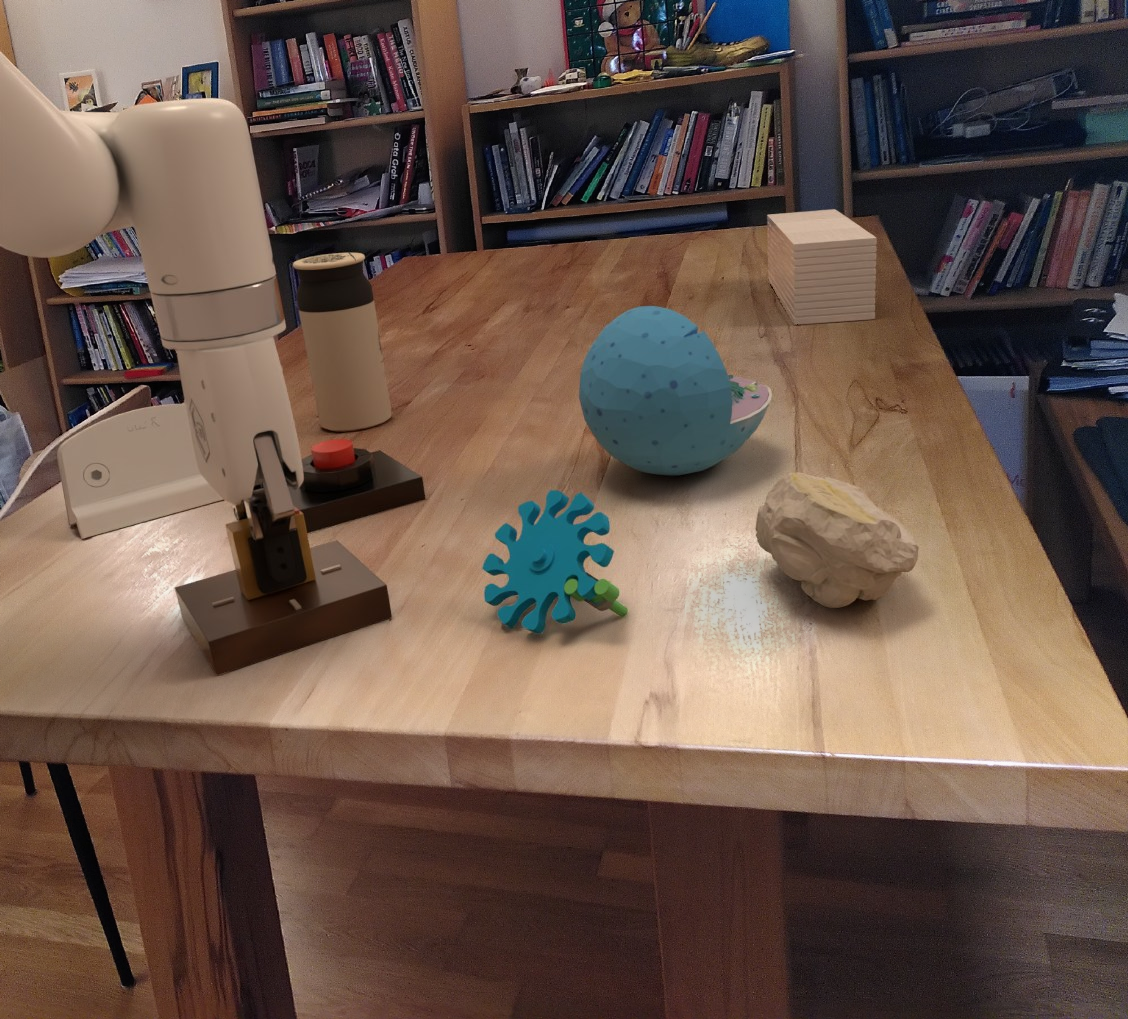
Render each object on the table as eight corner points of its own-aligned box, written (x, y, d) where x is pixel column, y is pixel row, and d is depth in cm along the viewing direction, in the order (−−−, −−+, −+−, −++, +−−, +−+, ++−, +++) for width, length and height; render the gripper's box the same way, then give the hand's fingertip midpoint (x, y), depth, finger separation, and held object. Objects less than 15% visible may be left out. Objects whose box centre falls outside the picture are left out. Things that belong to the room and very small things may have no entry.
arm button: (322, 474, 89) (318, 455, 89) (309, 464, 92) (305, 445, 92) (361, 464, 91) (358, 445, 90) (347, 454, 94) (344, 435, 93)
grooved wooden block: (874, 319, 140) (876, 237, 136) (794, 325, 141) (793, 243, 137) (834, 277, 169) (835, 208, 165) (768, 282, 170) (767, 214, 166)
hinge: (78, 539, 90) (41, 427, 89) (73, 541, 94) (38, 434, 93) (265, 487, 98) (233, 384, 97) (253, 491, 102) (222, 392, 101)
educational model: (812, 450, 95) (812, 284, 89) (682, 519, 83) (672, 332, 77) (677, 424, 105) (669, 274, 99) (544, 482, 93) (527, 315, 88)
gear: (452, 586, 71) (533, 464, 72) (503, 615, 75) (580, 500, 76) (551, 662, 63) (641, 525, 64) (602, 690, 68) (686, 562, 68)
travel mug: (318, 437, 112) (286, 268, 105) (322, 416, 119) (293, 257, 113) (392, 427, 113) (366, 259, 106) (392, 407, 120) (367, 249, 114)
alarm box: (293, 537, 86) (284, 492, 85) (260, 504, 94) (251, 462, 93) (426, 499, 92) (419, 457, 90) (383, 471, 100) (377, 431, 98)
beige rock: (819, 542, 77) (720, 596, 72) (806, 436, 74) (701, 485, 69) (961, 582, 67) (858, 648, 62) (952, 462, 64) (843, 521, 59)
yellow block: (247, 600, 70) (231, 529, 68) (240, 590, 72) (224, 520, 70) (316, 579, 72) (302, 509, 70) (307, 570, 74) (293, 501, 72)
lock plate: (216, 676, 66) (207, 639, 65) (182, 618, 74) (173, 585, 73) (392, 617, 71) (386, 582, 70) (342, 569, 79) (336, 537, 78)
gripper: (134, 308, 70) (195, 558, 76) (187, 344, 57) (255, 641, 63) (245, 288, 73) (294, 530, 80) (320, 319, 60) (370, 604, 67)
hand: (276, 577), depth 72 cm, fingers closed
